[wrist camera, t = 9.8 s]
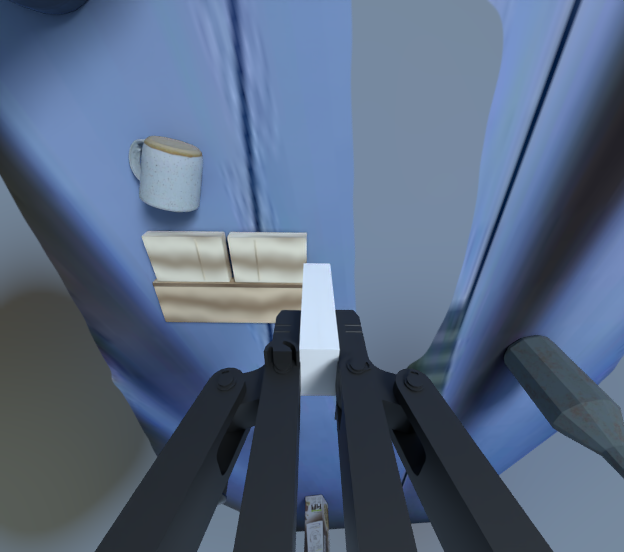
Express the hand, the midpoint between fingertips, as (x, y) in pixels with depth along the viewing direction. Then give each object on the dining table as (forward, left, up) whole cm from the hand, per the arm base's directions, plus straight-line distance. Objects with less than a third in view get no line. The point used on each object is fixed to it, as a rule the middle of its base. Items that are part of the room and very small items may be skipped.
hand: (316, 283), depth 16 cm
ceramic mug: (-1, -21, -30) cm, 36 cm away
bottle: (+36, +47, -30) cm, 66 cm away
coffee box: (+112, +3, -30) cm, 116 cm away
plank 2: (+13, -7, -29) cm, 33 cm away
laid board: (+22, -14, -29) cm, 40 cm away
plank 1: (+13, -21, -29) cm, 38 cm away
